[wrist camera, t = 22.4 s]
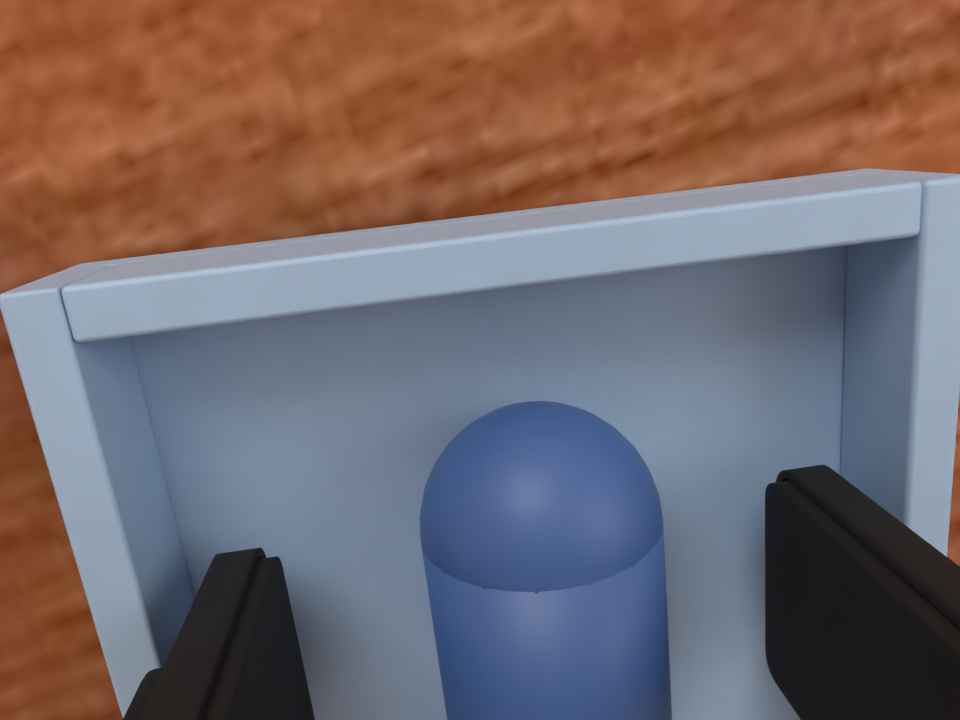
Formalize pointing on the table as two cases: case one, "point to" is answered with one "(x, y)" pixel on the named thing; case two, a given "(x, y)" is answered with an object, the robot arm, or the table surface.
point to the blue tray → (493, 406)
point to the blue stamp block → (546, 570)
